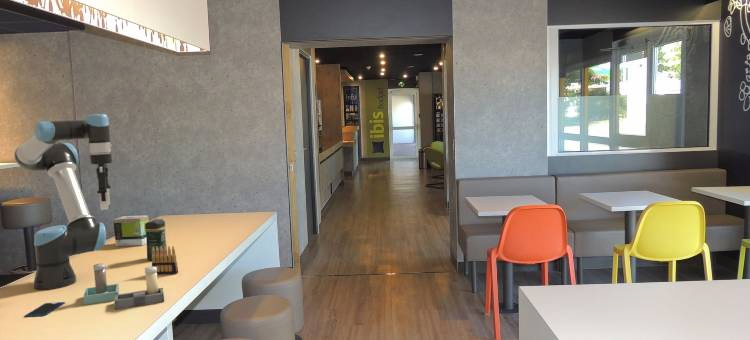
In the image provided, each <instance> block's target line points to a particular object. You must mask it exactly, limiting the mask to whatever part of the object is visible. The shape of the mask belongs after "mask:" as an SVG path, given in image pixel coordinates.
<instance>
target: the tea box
mask: <svg viewBox="0 0 750 340" xmlns="http://www.w3.org/2000/svg"><path fill="white" fill-rule="evenodd" d="M147 222H150V218H149V215H148V214H147V215H146V214H145V215H129V216H128V215H125V216H124V215H123V216H120V217H117V218H114V219H113V230H114V231H113V233H114V239H115V246H116V247H125V246H127V247H129V246H144V245H147V238H146V231H145V224H146V223H147Z"/></svg>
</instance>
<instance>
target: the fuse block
mask: <svg viewBox="0 0 750 340" xmlns="http://www.w3.org/2000/svg"><path fill="white" fill-rule="evenodd" d="M158 292H159V293H157V294H151V295H147V289H144V290H138V291H132V292H126V293H125V292H124V293H119V294H117V295H115V300H114V307H115V308H114V310H121V309H122V310H123V309H127V308H134V307H139V306H140V307H141V306H147V305H152V304H158V303H164V302H165V297H164V296H165V295H164V288H163V287H158Z"/></svg>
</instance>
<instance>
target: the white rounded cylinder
mask: <svg viewBox="0 0 750 340" xmlns="http://www.w3.org/2000/svg"><path fill="white" fill-rule="evenodd" d="M144 274H145V284H146V290H147V295H151V294H157V293H159V292H158V288H159V281H158V275H157V267H155V266H152V265H151V266H147V267H145V268H144Z"/></svg>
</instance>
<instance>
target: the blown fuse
mask: <svg viewBox="0 0 750 340" xmlns="http://www.w3.org/2000/svg"><path fill="white" fill-rule="evenodd" d="M92 267H93V273H94V275H93V276H94V283H95V284H94V285H95V286H94V287H96V294H102V293H108V291H107V285H108V284H107V274H106V273H107V271H106V263H97V264H94V265H93V266H92Z"/></svg>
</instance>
